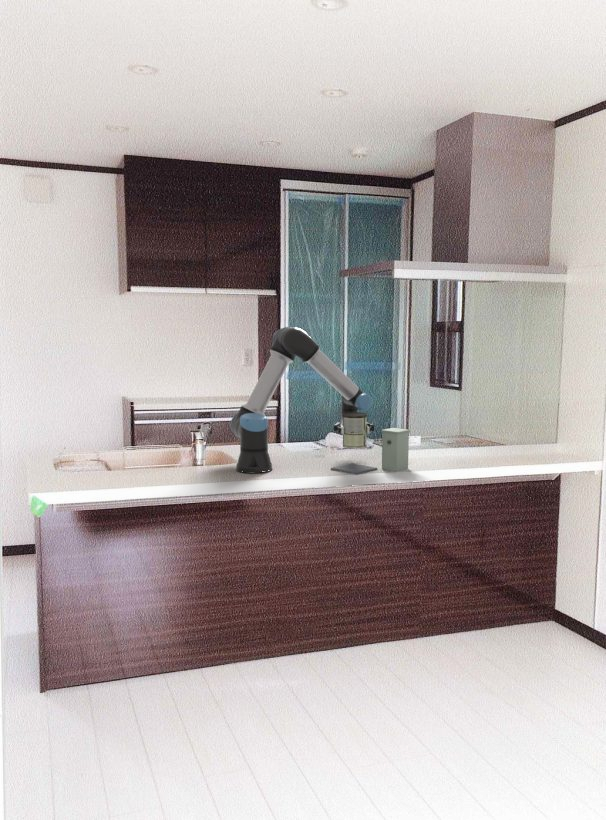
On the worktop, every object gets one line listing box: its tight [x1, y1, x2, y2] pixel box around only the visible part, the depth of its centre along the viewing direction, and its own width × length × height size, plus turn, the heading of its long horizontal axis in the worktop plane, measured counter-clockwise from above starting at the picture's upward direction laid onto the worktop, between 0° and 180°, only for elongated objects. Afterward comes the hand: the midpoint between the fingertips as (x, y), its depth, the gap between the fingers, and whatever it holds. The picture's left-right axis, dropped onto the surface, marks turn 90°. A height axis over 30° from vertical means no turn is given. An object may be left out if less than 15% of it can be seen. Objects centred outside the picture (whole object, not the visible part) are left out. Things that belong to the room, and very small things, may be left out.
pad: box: [330, 463, 378, 475], centre depth 312 cm, size 14×14×1 cm
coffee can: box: [342, 411, 368, 450], centre depth 310 cm, size 10×10×14 cm
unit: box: [380, 427, 411, 472], centre depth 313 cm, size 9×9×17 cm
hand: (355, 430), depth 305 cm, fingers closed on coffee can, 10 cm apart
